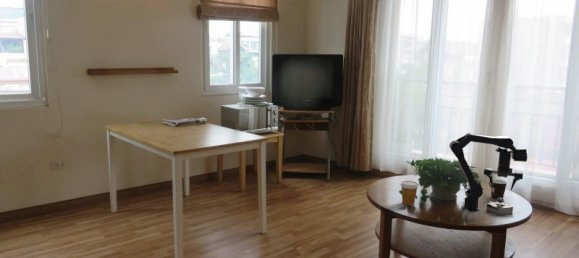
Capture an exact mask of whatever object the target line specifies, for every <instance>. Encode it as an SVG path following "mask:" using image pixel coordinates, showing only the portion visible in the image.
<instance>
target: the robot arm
mask: <svg viewBox="0 0 579 258" xmlns="http://www.w3.org/2000/svg"><path fill="white" fill-rule="evenodd" d="M471 142H472V143H473V142H474V143H480V144H487V145H494V146H496V147H497V148H496V149H495V152H496V153H499V154H498V161H497V162H498V164H497V170H494V169H493V168H492V167H491V168H490V167H485V168H484V170H483V175H485V176H486V177H487V178H488V179H489V182H490V185H491V186H492V188H493V180H494V175H497V177H499V178H508V177H513V179H512V183H511V187H510V191H511V192H512V191H513V188H514V186H515V185H516V184H517V181H521V180H523V179H524V172H523V171H516V170H514V172H513V168H511V161H512V160H513V161H514V162H524V163H525V162H527V161H528V152H527V151H528V150H527V148H524V147H523V148H516V147H515V145H514V141H513V139H512V138H510V137H509V136H507V135H502V136H501V135H499V136H491V135H483V134H482V135H481V134H477V133H471V132H467V133H466V134H464V135H463V136H460V137H458V139H456V140H451V142H449V149H450V150H451V152H452V153H453V155H454V156H455V157H456V159H457V162H458V164H459V165H460V168H461V170H462V172H463V174H464V176H465V178H466V180H467V184H468V189H467V190H466V191H464V194H465V196H466V197H465V198H464V204H463V206H462V207H461V208H462V209H464V210H466V211H468V212H476V211H480V209H479V199H480V197H482V196H483V194H484V192H483V190H484V188H483V186H482V184H481V181H480V180H479V179H477V180H476V178H475V176H474V175H473V173H472V170H471V168H470V166H469V164H468V161H467V159H466V157H465V152H464V148H465V147H467V146H468V145H469V144H470V143H471ZM508 149H509V150H508Z"/></svg>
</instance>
